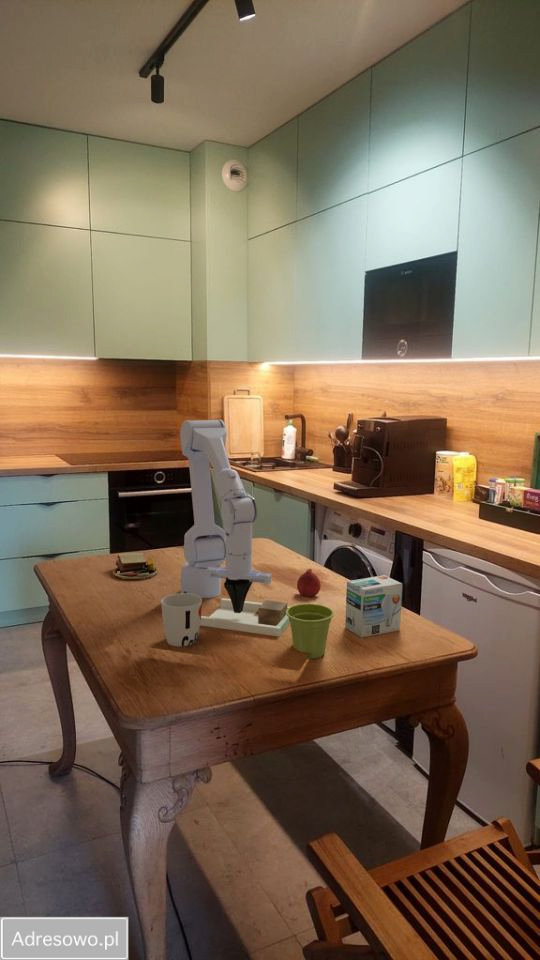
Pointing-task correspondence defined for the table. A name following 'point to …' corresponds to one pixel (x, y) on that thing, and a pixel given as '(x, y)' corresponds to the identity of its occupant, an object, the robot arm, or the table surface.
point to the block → (271, 612)
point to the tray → (242, 619)
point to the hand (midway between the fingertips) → (238, 611)
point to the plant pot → (310, 628)
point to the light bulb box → (373, 605)
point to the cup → (181, 618)
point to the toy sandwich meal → (134, 566)
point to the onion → (308, 584)
